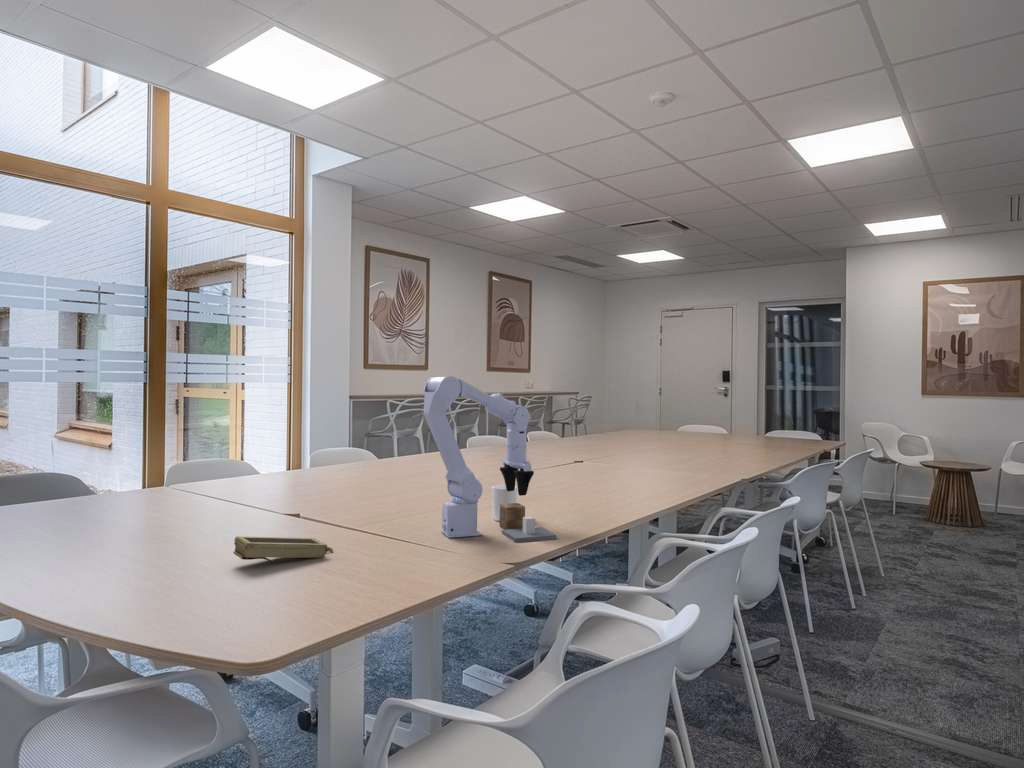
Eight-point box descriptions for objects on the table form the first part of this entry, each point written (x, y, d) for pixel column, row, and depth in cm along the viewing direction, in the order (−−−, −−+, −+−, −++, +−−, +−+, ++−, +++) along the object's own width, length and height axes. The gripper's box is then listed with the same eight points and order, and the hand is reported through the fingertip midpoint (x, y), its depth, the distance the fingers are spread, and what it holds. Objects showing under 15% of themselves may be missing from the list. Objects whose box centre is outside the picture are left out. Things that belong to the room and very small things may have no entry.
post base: (515, 542, 162) (515, 523, 162) (501, 533, 171) (502, 515, 171) (556, 538, 166) (556, 520, 166) (541, 530, 176) (541, 512, 176)
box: (229, 558, 139) (233, 535, 139) (322, 557, 153) (326, 537, 154) (242, 567, 132) (246, 543, 133) (338, 565, 147) (341, 544, 148)
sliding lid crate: (506, 531, 174) (506, 507, 174) (499, 526, 179) (499, 504, 179) (524, 529, 176) (525, 506, 176) (517, 525, 181) (517, 503, 181)
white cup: (487, 521, 187) (488, 487, 187) (495, 515, 194) (496, 484, 194) (512, 523, 185) (513, 489, 185) (519, 517, 192) (520, 485, 192)
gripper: (540, 448, 175) (540, 496, 175) (517, 443, 188) (517, 488, 188) (518, 449, 172) (518, 498, 172) (496, 444, 185) (496, 489, 185)
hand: (516, 493), depth 180 cm, fingers open, 7 cm apart
